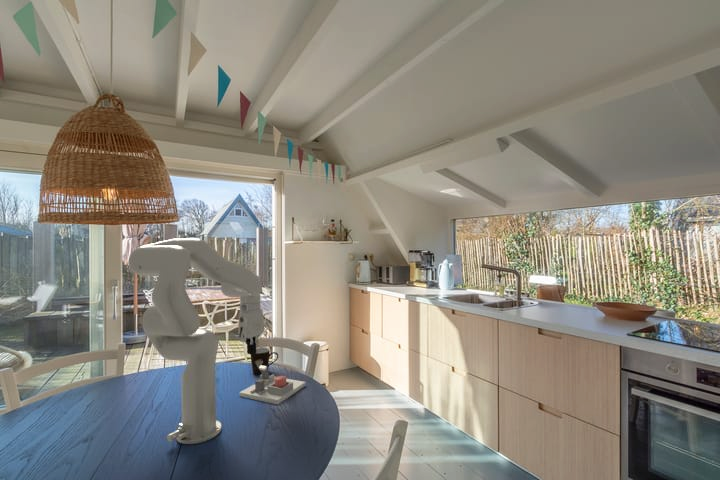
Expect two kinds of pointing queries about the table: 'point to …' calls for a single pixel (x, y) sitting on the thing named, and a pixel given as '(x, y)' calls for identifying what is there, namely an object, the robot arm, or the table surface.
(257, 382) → the slider
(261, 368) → the lever
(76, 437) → the table surface
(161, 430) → the table surface
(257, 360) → the coffee mug
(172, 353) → the robot arm
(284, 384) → the button
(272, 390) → the panel
